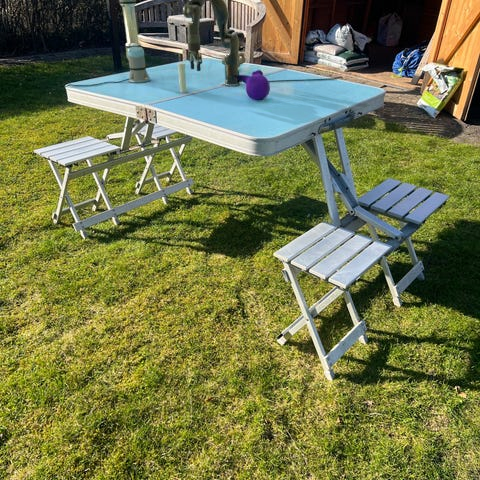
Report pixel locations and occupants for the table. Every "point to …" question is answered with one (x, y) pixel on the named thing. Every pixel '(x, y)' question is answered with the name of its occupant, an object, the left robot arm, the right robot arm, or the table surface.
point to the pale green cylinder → (182, 80)
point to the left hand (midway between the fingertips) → (196, 35)
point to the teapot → (238, 59)
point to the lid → (181, 65)
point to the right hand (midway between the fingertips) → (195, 70)
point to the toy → (255, 85)
